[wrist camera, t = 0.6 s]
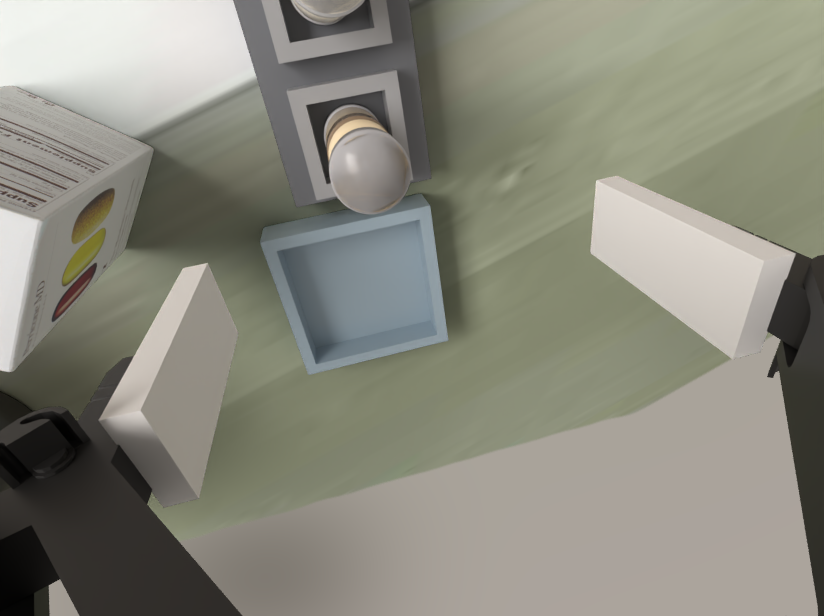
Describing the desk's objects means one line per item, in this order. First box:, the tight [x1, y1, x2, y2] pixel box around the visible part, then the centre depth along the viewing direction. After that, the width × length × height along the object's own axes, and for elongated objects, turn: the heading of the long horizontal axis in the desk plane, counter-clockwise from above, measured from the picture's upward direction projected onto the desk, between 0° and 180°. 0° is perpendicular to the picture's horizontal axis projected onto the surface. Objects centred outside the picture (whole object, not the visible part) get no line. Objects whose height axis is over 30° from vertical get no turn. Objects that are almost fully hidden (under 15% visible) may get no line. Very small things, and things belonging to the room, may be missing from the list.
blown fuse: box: [323, 103, 411, 214], centre depth 28 cm, size 4×4×12 cm
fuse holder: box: [233, 0, 431, 207], centre depth 27 cm, size 11×18×15 cm, turn 9°
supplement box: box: [0, 86, 154, 372], centre depth 26 cm, size 10×9×17 cm
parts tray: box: [260, 193, 448, 375], centre depth 41 cm, size 14×14×4 cm
